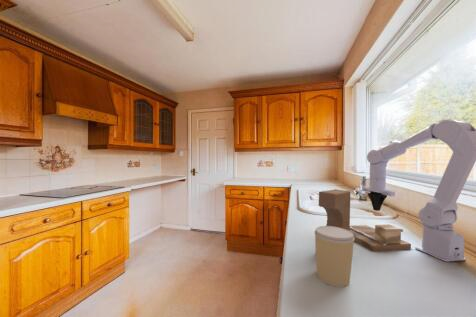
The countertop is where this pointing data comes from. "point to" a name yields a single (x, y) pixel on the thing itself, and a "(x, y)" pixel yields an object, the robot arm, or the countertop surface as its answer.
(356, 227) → the walnut board
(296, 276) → the countertop surface
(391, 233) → the beige peg block
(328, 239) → the coffee cup
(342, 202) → the decorative block
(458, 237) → the robot arm
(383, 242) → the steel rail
